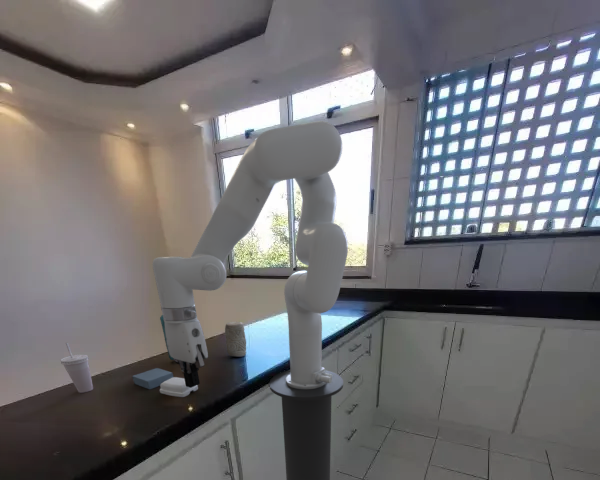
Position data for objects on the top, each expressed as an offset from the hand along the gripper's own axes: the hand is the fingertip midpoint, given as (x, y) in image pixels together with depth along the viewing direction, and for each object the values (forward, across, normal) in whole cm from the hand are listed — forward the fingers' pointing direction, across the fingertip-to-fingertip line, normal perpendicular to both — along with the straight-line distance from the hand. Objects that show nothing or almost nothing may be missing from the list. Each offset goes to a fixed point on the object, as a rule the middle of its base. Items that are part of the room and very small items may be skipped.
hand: (192, 385), depth 81 cm
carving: (+3, +15, -31) cm, 35 cm away
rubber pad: (+3, +19, 0) cm, 19 cm away
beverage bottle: (+4, +29, -16) cm, 34 cm away
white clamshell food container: (+4, +7, 0) cm, 8 cm away
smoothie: (+4, +31, +14) cm, 34 cm away
